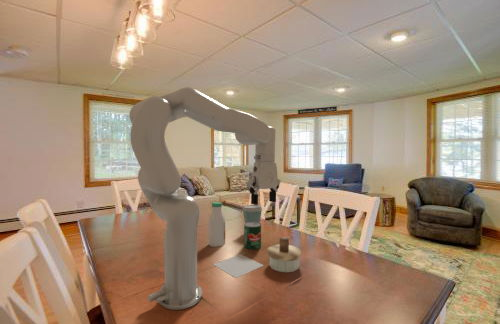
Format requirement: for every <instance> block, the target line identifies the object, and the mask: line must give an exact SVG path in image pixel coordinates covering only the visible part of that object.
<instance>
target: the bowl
mask: <svg viewBox="0 0 500 324" xmlns="http://www.w3.org/2000/svg"><path fill="white" fill-rule="evenodd" d="M269 267H270V268H271V269H272V270H274V271H276V272H280V273H291V272H295V271H297V270H299V268H300V258H299V259H297V260H294V261H279V260H275V259H272V258H270V257H269Z"/></svg>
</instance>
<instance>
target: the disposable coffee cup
mask: <svg viewBox="0 0 500 324" xmlns="http://www.w3.org/2000/svg"><path fill="white" fill-rule="evenodd" d="M242 211H243V219H244V224H245V223H246V222H259V223H261V217H262V211H263V207H262V205H261V204H258V205H254V204H249V205H248V204H247V205H244V206H243V208H242Z"/></svg>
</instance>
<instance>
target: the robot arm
mask: <svg viewBox="0 0 500 324" xmlns="http://www.w3.org/2000/svg"><path fill="white" fill-rule="evenodd" d="M128 116H129V121H130V122H131V127H130V135H129V136H130V139H129V140H130V144H131V148H132V151H133V154H134V156H135V159H136V161H137V162H138V165H139V168H140V169H139V170H138V173H137V181H138V185H139V188H140V189H141V191H142V193H143V195H144V196H145V199H146V200H147V202H148V204H149V205H150V208H151V209H152V210H153V212H154V215H156V216H157V217H158V218H159V219H161V220H163V221H164V222H166V228H165V232H164V239H163V240H164V241H163V252H164V257H163V259H164V262H163V263H164V284H161V288H160V289H159V290H158V291H156V292H153V293H151V294H148V295H147V300H148V302H149V303H152V302H154V301H155V302H156V304H160V306H161V307H163V308H164V309H168V310H172V311H174V310H175V311H176V310H177V311H178V310H184V309H185V310H186V309H188V308H191V307H194V306H195V305H196V304H198V303H199V302H200V301H201V299H202V298H203V293H204V292H203V289H202V287H201V286H200V285H198V227H199V226H198V225H199V220H200V215H201V214H200V211H201V210H200V206H199V205H198V202H197V201H196V200H195V199H194V198H193V197H192V196H191V195H188V194H184V193H182V192H178V191H179V189H180V187H181V184H182V177H181V174H180V171H179V170H178V168H177V166H176V163H175V162H174V161H175V160H174V159H173V157H172V155H171V153H170V151H169V149H168V146H167V144H166V140H165V138H166V137H165V134H166V133H165V132H166V129H167V127H168V124H169V123H172V122H174V121H176V120H179V119H182V118H186V117H187V118H189V119H191V120H194V121H195V122H197V123H200V124H202V125H203V126H206V127H208V128H210V129H212V130H214V131H217V132H223V133H233V134H234V135H235V136H234V137H235V140H236V141H237V142H238V143H239V144H240V145H243V146H255V149H254V150H255V153H254V154H255V155H254V156H253V160H254V163H253V166H252V174H251V178H250V179H249V180H248V181H247V182H246V183H245V184H246V185H245V186H246V187H247V190H248V192H249V194H251V195H250V196H251V197H250V205H259V194H258V193H259V192H260V190H267V189H268V190H269V194H268V195H269V197H268V200H269V202H272V203H276V202H277V192H278V189H279V188H280V184H281V180H280V179H279V178H278V167H277V162H276V160H275V159H276V155H275V154H276V129H275V127H273V126H269V125H268V123H266V122H265V121H263V120H261V119H260V118H258V117H257V116H255V115H252V114H250V113H248V112H244V111H241V110H237V109H235V108H231V107H227V106H225V105H224V104H222V103H220V102H218V101H217V100H215V99H213V98H212V97H209V96H208V95H206V94H204V93H202V92H201V91H199V90H198V89H195V88H194V87H190V86H189V87H188V86H187V87H183V88H179V89H177V90H174V91H172V92H170V93H167V94H165V95H162V96H158V95H157V96H149V97H147V98H145V99H142V100H141V101H139V102H136V103H135V104H134V105H133V106H132V107H130V111H129V115H128Z"/></svg>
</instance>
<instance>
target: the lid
mask: <svg viewBox="0 0 500 324" xmlns="http://www.w3.org/2000/svg"><path fill="white" fill-rule="evenodd" d="M266 254H267V256H268V257H269V259H270V258H272V259H275V260H279V261H294V260H297V259H299V260H300V258H301V257H302V250H301V249H300V248H299V247H297V246H294V245H292V244H291V245H290V238H289V237H286V236H280V237H279V243H278V244H274V245H270V246H269V247H268V248H267V250H266Z"/></svg>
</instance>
